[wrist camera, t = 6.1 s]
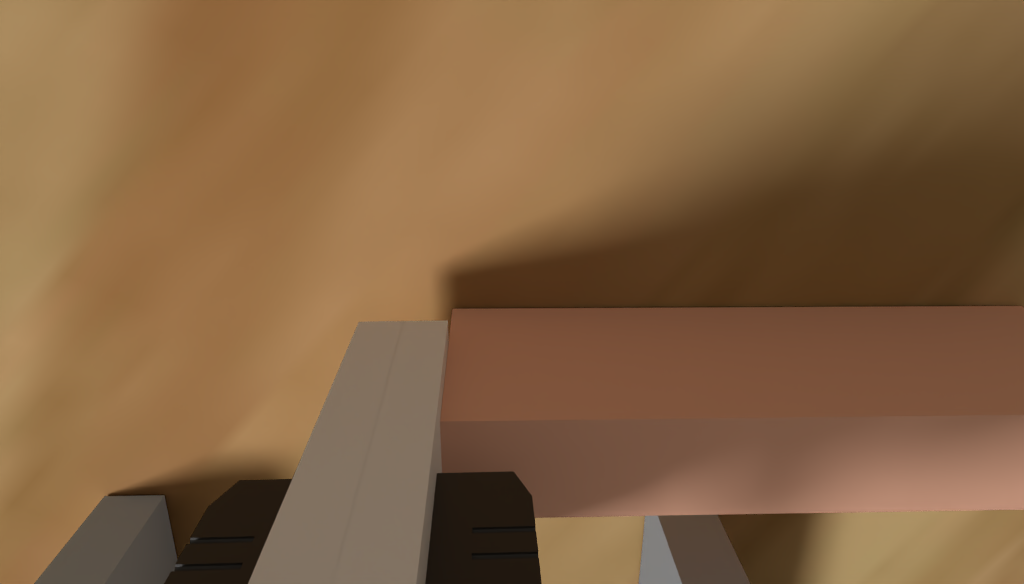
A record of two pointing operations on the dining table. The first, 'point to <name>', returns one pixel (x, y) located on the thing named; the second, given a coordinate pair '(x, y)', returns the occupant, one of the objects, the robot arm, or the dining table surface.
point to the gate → (740, 408)
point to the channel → (152, 556)
